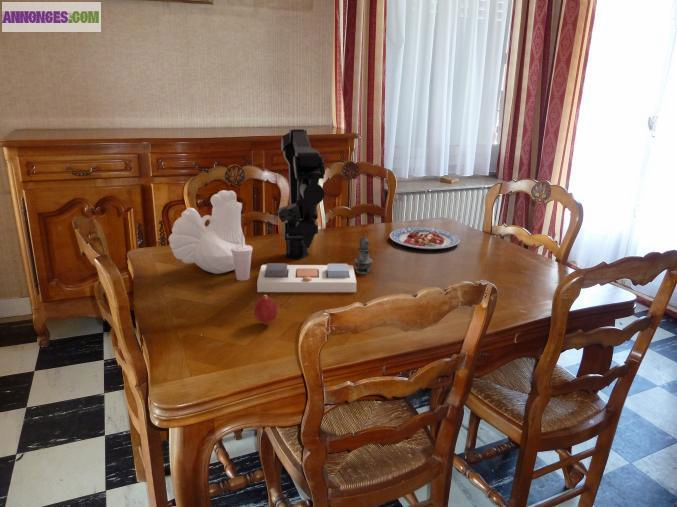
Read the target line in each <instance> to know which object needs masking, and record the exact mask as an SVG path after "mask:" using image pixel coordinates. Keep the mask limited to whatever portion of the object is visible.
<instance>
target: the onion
mask: <svg viewBox="0 0 677 507" xmlns="http://www.w3.org/2000/svg"><path fill="white" fill-rule="evenodd" d="M278 311H279V309H278V304H276V302H275V301H274V300H273V299H272V298H271V297H269V296H268V295H267V294H264V295H263V296H262V297H261V298H260V299H259V300H258V301H256V303H255V305H254V307H253V315H254V317H255V318H256V320H257V321H258V322H259V323H261V324H263V325H264V326H268V325H269V324H271V323H272V322H273V321H274V320H275V319H276V318H277V317H278V313H279V312H278Z"/></svg>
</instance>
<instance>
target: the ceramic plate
mask: <svg viewBox="0 0 677 507" xmlns="http://www.w3.org/2000/svg"><path fill="white" fill-rule="evenodd" d="M389 238H390V239H391V240H392V241H393V242H395V243H397V244H399V245H403V246H406V247H409V248H412V249H413V248H414V249H418V250H419V249H420V250H438V249H447V248H451V247H454V246H456V245H458V244H459V243H460V238H459V237H458V236H457V235H456V234H454V233H452V232H449V231H446V230H443V229H437V228H432V227H431V228H430V227H414V226H413V227H405V228H404V227H403V228H398V229H396V230H393V231H392V232H390V234H389Z"/></svg>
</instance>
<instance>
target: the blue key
mask: <svg viewBox="0 0 677 507" xmlns="http://www.w3.org/2000/svg"><path fill="white" fill-rule="evenodd" d="M326 265H327V275H328V278H349V269H348V265H349V264H348V263H327V264H326Z"/></svg>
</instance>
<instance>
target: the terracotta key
mask: <svg viewBox="0 0 677 507" xmlns="http://www.w3.org/2000/svg"><path fill="white" fill-rule="evenodd" d="M306 276H308V277H311V278H318V270H317V268H297V278H303V277H306Z"/></svg>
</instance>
